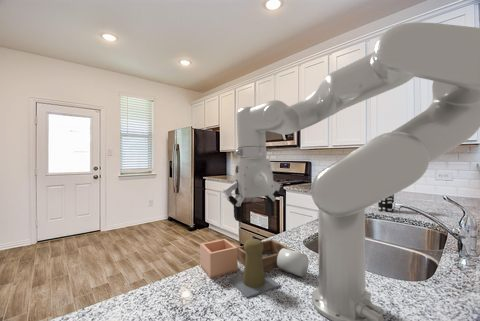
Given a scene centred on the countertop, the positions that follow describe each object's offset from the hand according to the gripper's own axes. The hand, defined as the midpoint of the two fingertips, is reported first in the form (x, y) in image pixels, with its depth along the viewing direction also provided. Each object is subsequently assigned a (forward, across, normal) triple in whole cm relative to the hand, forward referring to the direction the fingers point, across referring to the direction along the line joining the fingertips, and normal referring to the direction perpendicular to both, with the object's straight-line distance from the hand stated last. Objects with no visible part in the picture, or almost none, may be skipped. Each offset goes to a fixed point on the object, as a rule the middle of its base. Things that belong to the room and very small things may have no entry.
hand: (254, 218), depth 60 cm
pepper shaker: (+17, 0, +1) cm, 17 cm away
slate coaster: (+18, -1, +1) cm, 18 cm away
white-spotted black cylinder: (+19, +115, +29) cm, 120 cm away
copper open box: (+17, -6, +13) cm, 22 cm away
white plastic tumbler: (+18, +12, 0) cm, 22 cm away
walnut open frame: (+17, +9, +10) cm, 22 cm away
